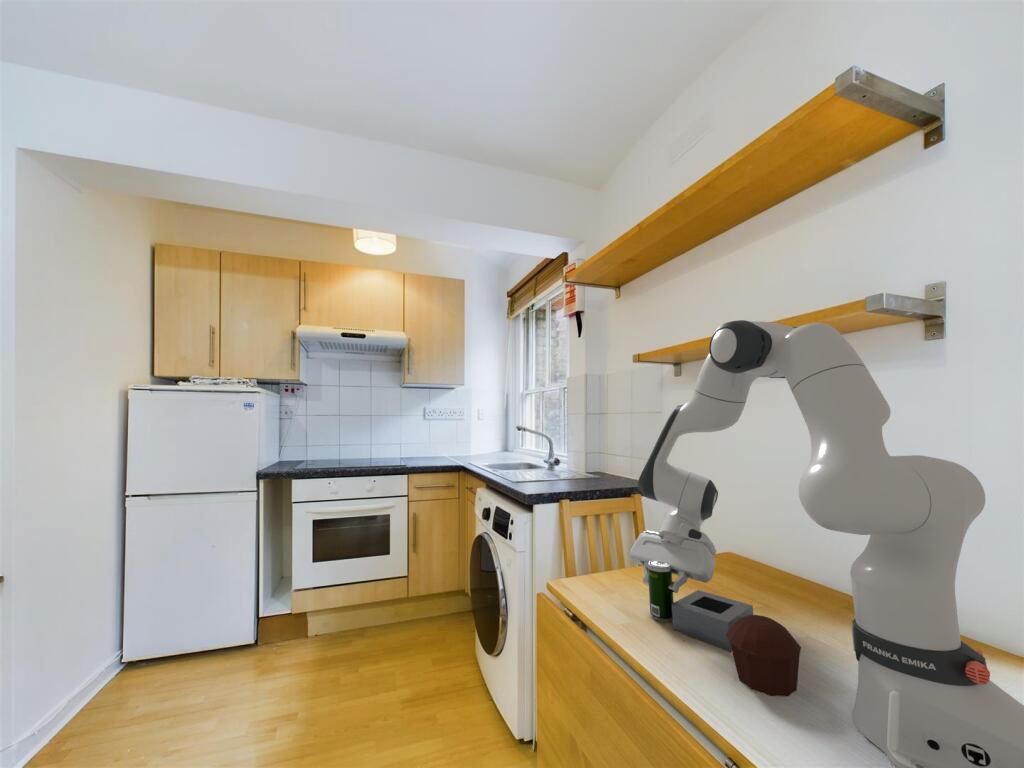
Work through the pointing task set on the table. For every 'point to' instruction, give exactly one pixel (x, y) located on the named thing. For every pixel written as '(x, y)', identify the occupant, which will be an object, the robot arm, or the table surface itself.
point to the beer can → (660, 591)
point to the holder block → (708, 617)
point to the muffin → (765, 655)
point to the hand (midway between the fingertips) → (659, 587)
